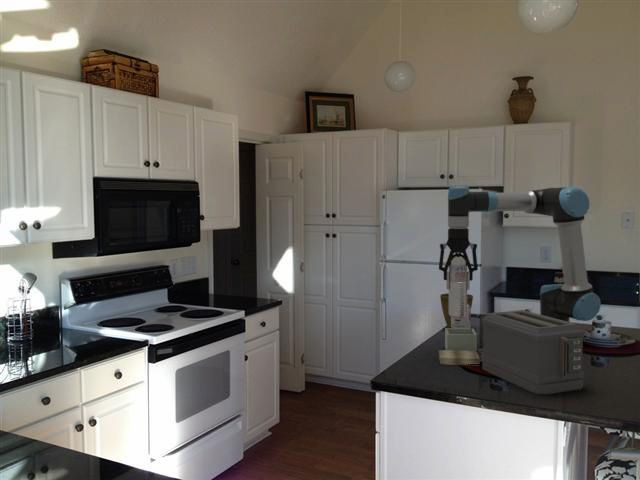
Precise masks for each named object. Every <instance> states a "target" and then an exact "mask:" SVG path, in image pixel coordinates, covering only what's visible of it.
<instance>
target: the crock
mask: <svg viewBox="0 0 640 480" xmlns="http://www.w3.org/2000/svg"><path fill="white" fill-rule="evenodd" d="M477 338H478V335H477V333H476V331H475V329H474V328H471V329H470V328H448V327H445V328H444V348H445V350H457V351H477V352H478V349H477V348H478V347H477V346H478V345H477V343H478V341H477V340H478V339H477Z"/></svg>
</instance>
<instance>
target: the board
mask: <svg viewBox="0 0 640 480" xmlns="http://www.w3.org/2000/svg"><path fill="white" fill-rule="evenodd" d="M438 359H439V364H440V365H442V366H443V365H448V366H449V365H452V366H471V365H470V364H480V363H481V357H480V356H479V354H478V351H477V352H476V351H457V350H446V349H445V350H444V349H443V350H442V349H439V350H438ZM468 364H469V365H468Z"/></svg>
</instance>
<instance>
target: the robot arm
mask: <svg viewBox="0 0 640 480" xmlns="http://www.w3.org/2000/svg"><path fill="white" fill-rule="evenodd" d="M447 192H448V193H447V195H448V196H447V213H448V214H447V227H448V229H447V241H446V242H445V243H439V248H440V254H439V263H438V270H439V271H442V272H443V280H444V281H446V290H448V291H449V264H450V260H451V258H452V256H453V255H454V254H455V253H458V252H459V253H461V254H462V255H464V257H465V259H466V260H467V270H468V271H467V291H469V290H470V285H471V284H470V281H473V280H474V278H473V274H474V272H476V271H478V268H479V266H478V258H477V249H478V244H476V243H473V242H472V243H471V241H470V240H469V238H470V235H469V234H470V233H469V232H470V231H469V228H468V227H469V226H470V223H469V222H470V221H469V219H470V218H469V217H470V213H472V212H473V213H476V212H479V213H480V212H481V213H483V212H485V213H486V212H487V213H489V212H524V213H525V214H535V215H543V216H548V217H552V223H553V224H554V225H556V226H557V231H558V238H559V248H560V254H561V255H560V256H561V263H562V264H561V265H562V273H563V281H564V283H558V284H555V283H554V284H544V285H542V286H541V287H540V293H539V301H540V302H539V303H540V304H539V305H540V306H539V314H540V315H544V316H547V317H551V318H555V319H559V320H563V321H567V322H570V319H573V320H576V321H581V322H582V321H583V322H588V321H591V320H593V319H595V317H597V315H598V314H599V313H600V311H601V299H600V296H598V295H597V294H596V293H594V291H593V290H594V289H593V285H592V284H591V283H589V282H588V276H587V275H588V274H587V266H586V265H587V264H586V256H585V250H584V248H585V247H584V240H583V232H582V223H583V222H584V221H585V215H586V214H587V213H588V210H589V209H590V199H589V196H588V194H587V193H586V192H585V191H584V190H583V189H582V188H579V187H573V186H565V187H564V186H563V187H548V188H542V189H541V188H540V189H534V190H533V189H532V190H525V191H524V192H494V191H488V190H487V191H470V187H469V186H467V185H466V186H450V187H449V188H448V191H447ZM447 247H448V248H449V250H450V251H449V253H448V256H447V258H446V262H445V264H444V259H445V258H444V257H445V249H446V248H447ZM469 247H470V249H471V255H472V263H473V265H471V262H470V259H469V256H468V253H467V251H466V250H468V248H469ZM570 323H571V322H570Z"/></svg>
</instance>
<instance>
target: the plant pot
mask: <svg viewBox="0 0 640 480" xmlns="http://www.w3.org/2000/svg"><path fill="white" fill-rule="evenodd" d="M439 297H440V303H441V309H442V313H443V318H444V321H445V324H446V326H447V327H446V328H451V316H450V315H449V292H447V293H441V294H440V295H439ZM473 301H474V295H473V294H470V293H467V304H468V305H469V307H470V309H471V310H472V306H473Z"/></svg>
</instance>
